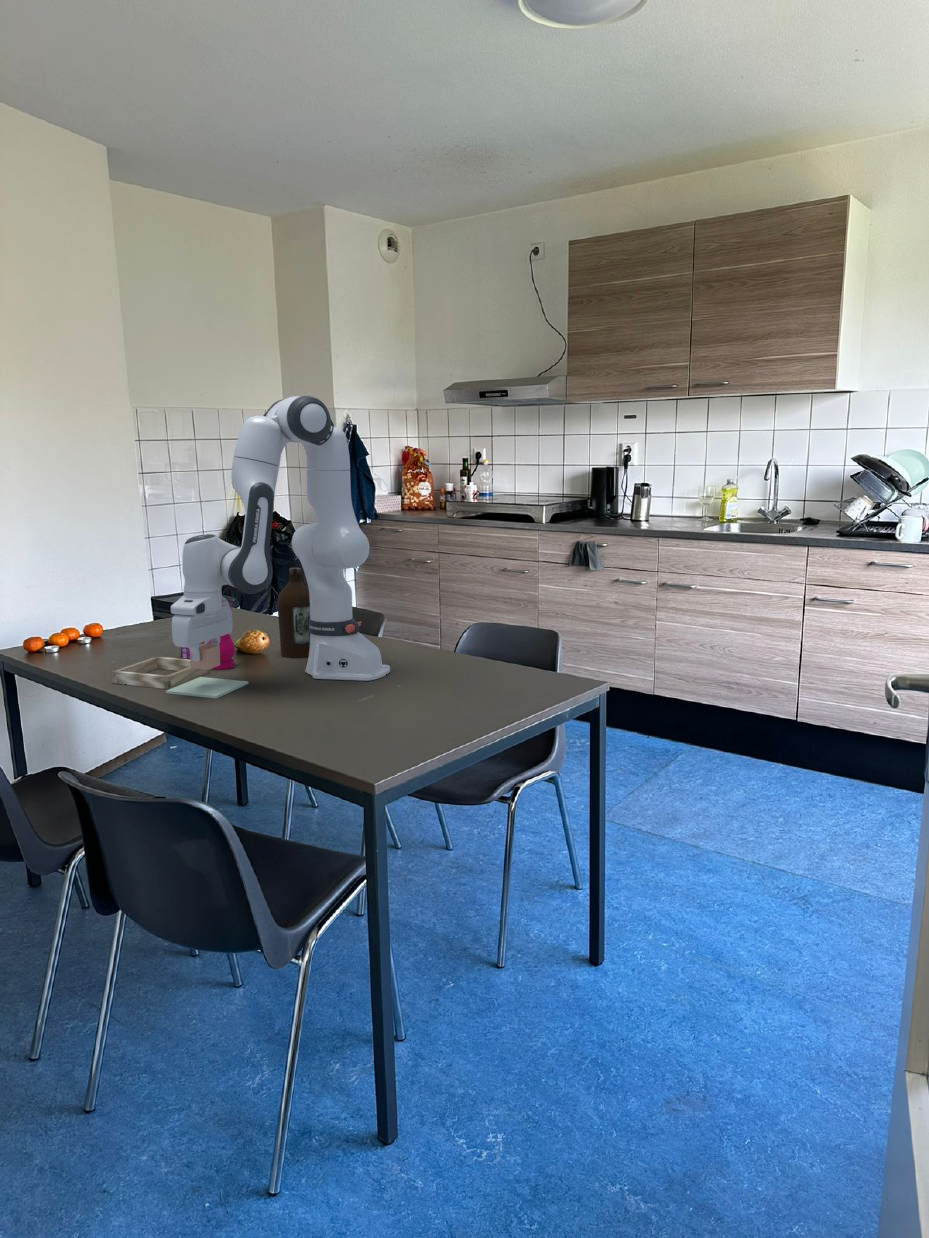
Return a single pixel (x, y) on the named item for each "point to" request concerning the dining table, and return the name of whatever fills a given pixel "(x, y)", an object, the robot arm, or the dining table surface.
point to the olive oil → (294, 617)
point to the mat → (207, 687)
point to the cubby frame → (139, 678)
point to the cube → (207, 657)
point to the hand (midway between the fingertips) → (205, 658)
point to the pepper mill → (226, 652)
